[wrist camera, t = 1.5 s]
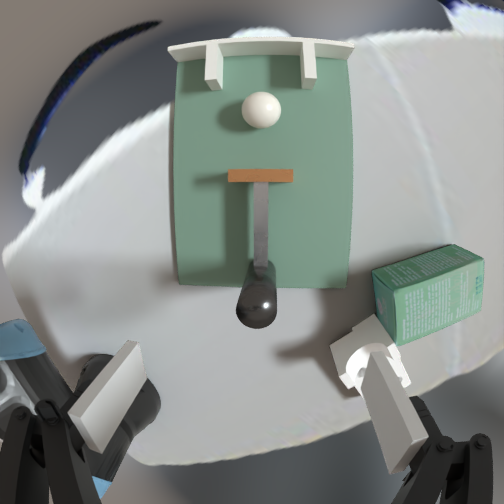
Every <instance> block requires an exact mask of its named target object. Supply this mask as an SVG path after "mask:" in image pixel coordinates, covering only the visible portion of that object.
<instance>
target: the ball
mask: <svg viewBox="0 0 504 504" xmlns="http://www.w3.org/2000/svg"><path fill="white" fill-rule="evenodd" d="M280 115H281V106H280V103H279V101H278V100H277V98H276V97H275V96H273V95H272V94H270V93H267V92H255V93H253V94H251V95H249V96H248V97H247V98H246V99H245V100H244V102H243V104H242V116H243V118H244V120H245V121H246V122H247V123H248V124H249V125H251V126H252V127H255V128H261V129H262V128H268V127H270V126H272V125H274V124H275V123H276V122H277V121H278V119H279V117H280Z"/></svg>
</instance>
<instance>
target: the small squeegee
mask: <svg viewBox="0 0 504 504" xmlns="http://www.w3.org/2000/svg"><path fill="white" fill-rule="evenodd" d="M228 182H254V261H252V262H251V263H250V265H249V267H248V270H247V273H246V276H245V280H244V283H243V286H242V290H241V293H240V296H239V300H238V303H237V306H236V314H237V317H238V319H239V320H240V321H241V322H242V323H243V324H244V325H245V326H247V327H250V328H254V329H260V328H264V327H267V326H269V325H270V324H271V323H272V322H273V321H274V319H275V317H276V314H277V291H276V268H275V266H274V264H273V263H272V262H271V261H270V260H268V205H269V182H283V183H291V182H293V169H228Z"/></svg>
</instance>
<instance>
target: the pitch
mask: <svg viewBox="0 0 504 504" xmlns="http://www.w3.org/2000/svg"><path fill="white" fill-rule="evenodd" d="M353 49H354V44H353V43H347V42H340V41H332V40H323V39H312V38H297V37H243V38H228V39H219V40H218V39H217V40H208V41H200V42H193V43H187V44H181V45H176V46H170V47H168V52H169V53H170V54H171V55H172V57H173V58H174V59H175V60H176V61H177V62H178V65H177V77H176V94H175V111H174V148H173V178H174V216H175V237H176V253H177V266H178V278H179V284H180V285H201V286H227V287H242V286H243V283H244V280H245V276H246V273H247V270H248V267H249V265H250V263H251V262H252V261H254V182H228V169H293V182H291V183H283V182H269V205H268V260H270V261H271V262H272V263H273V264H274V266H275V268H276V288H346V284H347V275H348V265H349V253H350V240H351V224H352V202H353V134H352V112H351V97H350V85H349V75H348V65H347V59H348V57H349V56H350V54H351V53H352V51H353ZM255 92H267V93H270V94H272V95H273V96H275V97H276V98H277V100H278V101H279V103H280V106H281V115H280V117H279V119H278V121H277V122H276V123H275V124H274V125H272V126H270V127H268V128H262V129H261V128H255V127H252V126H251V125H249V124H248V123H247V122H246V121H245V120H244V118H243V116H242V104H243V102H244V100H245V99H246V98H247V97H248V96H249V95H251V94H253V93H255Z"/></svg>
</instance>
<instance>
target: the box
mask: <svg viewBox="0 0 504 504" xmlns="http://www.w3.org/2000/svg"><path fill="white" fill-rule="evenodd" d="M372 278H373V285H374V292H375V300H376V309H377V318H378V320H379V321H380V323H381V324H382V325H383V327H384V328H385V330H386V331H387V333H388V334H389V336H390V337H391V339H392V340H393V341H394V343H395V345H396V346H401V345H403V344H406V343H409V342H411V341H414V340H416V339H419V338H421V337H424V336H426V335H429V334H431V333H434V332H436V331H438V330H441V329H443V328H445V327H448V326H450V325H452V324H454V323H457V322H459V321H461V320H463V319H465V318H468V317H470V316H472V315H474V314H476V313H477V312H479V311H481V304H482V294H483V280H484V258H482V257H480V256H478V255H476V254H474V253H472V252H470V251H468V250H465V249H463V248H461V247H459V246H457V245H455V244H453V245H450V246H447V247H443V248H440V249H437V250H434V251H430V252H427V253H424V254H421V255H418V256H416V257H413V258H410V259H406V260H403V261H400V262H397V263H394V264H391V265H388V266H385V267H381V268H378V269H375V270H372Z"/></svg>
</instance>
